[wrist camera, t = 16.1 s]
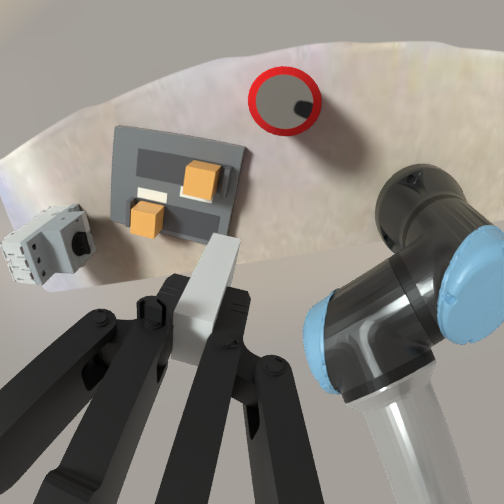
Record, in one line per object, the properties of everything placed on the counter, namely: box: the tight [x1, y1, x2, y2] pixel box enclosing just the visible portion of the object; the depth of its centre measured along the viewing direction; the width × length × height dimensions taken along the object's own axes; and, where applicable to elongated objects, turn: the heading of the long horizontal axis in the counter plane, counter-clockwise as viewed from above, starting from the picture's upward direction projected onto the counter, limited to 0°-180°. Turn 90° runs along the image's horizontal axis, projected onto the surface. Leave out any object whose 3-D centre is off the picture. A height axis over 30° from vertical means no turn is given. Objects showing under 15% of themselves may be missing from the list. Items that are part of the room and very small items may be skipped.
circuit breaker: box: [0, 204, 96, 285], centre depth 46 cm, size 8×14×15 cm, turn 93°
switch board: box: [111, 125, 245, 244], centre depth 45 cm, size 20×16×4 cm
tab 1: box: [130, 201, 164, 239], centre depth 46 cm, size 4×4×4 cm
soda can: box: [248, 66, 322, 136], centre depth 34 cm, size 8×8×12 cm
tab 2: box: [182, 160, 221, 200], centre depth 42 cm, size 4×4×4 cm
